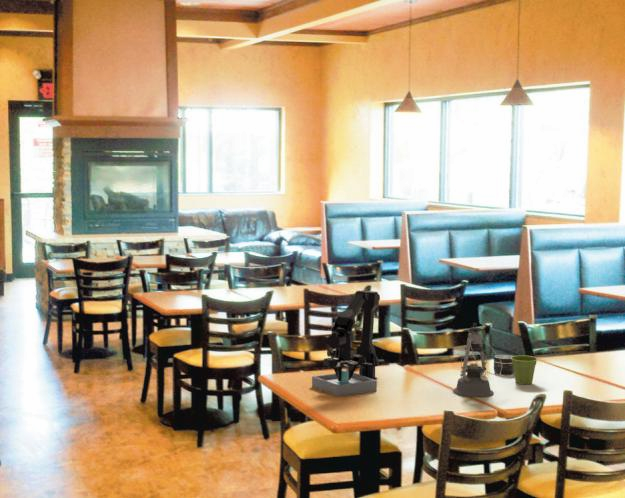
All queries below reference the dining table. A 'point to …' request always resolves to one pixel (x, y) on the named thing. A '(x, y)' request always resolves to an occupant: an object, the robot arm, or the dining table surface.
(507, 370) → the jar
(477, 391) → the lantern
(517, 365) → the plant pot
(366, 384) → the box
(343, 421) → the dining table surface
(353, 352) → the condiment
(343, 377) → the peg
